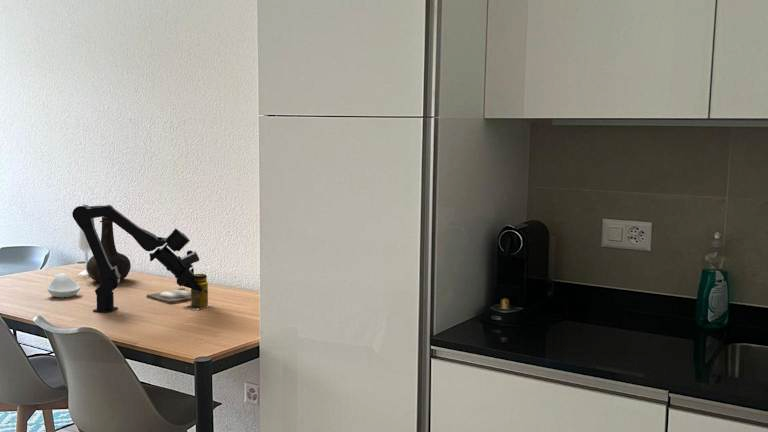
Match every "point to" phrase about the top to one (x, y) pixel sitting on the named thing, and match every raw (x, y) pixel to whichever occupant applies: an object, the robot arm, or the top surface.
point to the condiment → (199, 293)
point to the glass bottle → (109, 253)
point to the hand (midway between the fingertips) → (201, 288)
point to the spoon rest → (63, 286)
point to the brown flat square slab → (172, 296)
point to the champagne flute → (84, 248)
